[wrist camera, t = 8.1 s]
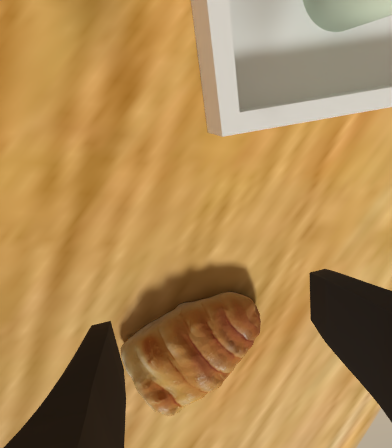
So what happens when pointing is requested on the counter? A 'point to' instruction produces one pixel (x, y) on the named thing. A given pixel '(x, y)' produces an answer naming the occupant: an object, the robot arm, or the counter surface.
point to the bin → (286, 65)
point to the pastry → (190, 350)
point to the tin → (346, 12)
